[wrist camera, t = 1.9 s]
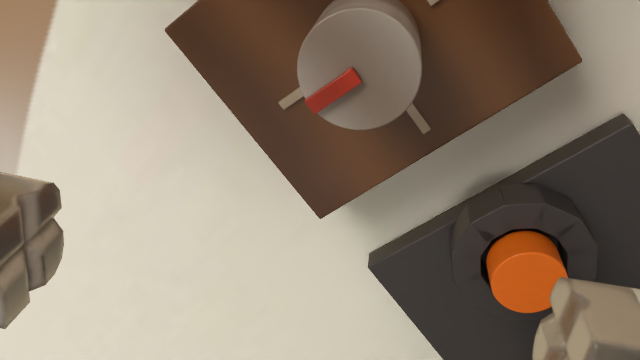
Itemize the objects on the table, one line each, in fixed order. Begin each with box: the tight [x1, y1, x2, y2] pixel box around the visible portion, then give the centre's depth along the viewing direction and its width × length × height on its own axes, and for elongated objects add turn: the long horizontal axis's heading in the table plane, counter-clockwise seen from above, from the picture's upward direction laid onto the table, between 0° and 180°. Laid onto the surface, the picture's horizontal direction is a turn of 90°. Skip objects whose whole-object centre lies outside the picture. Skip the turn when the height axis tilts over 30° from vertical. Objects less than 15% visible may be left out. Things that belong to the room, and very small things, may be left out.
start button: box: [486, 231, 568, 313], centre depth 25 cm, size 3×3×2 cm
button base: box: [368, 114, 640, 360], centre depth 28 cm, size 16×13×3 cm
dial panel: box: [165, 0, 582, 219], centre depth 24 cm, size 12×10×3 cm
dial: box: [297, 0, 422, 130], centre depth 21 cm, size 4×4×4 cm
